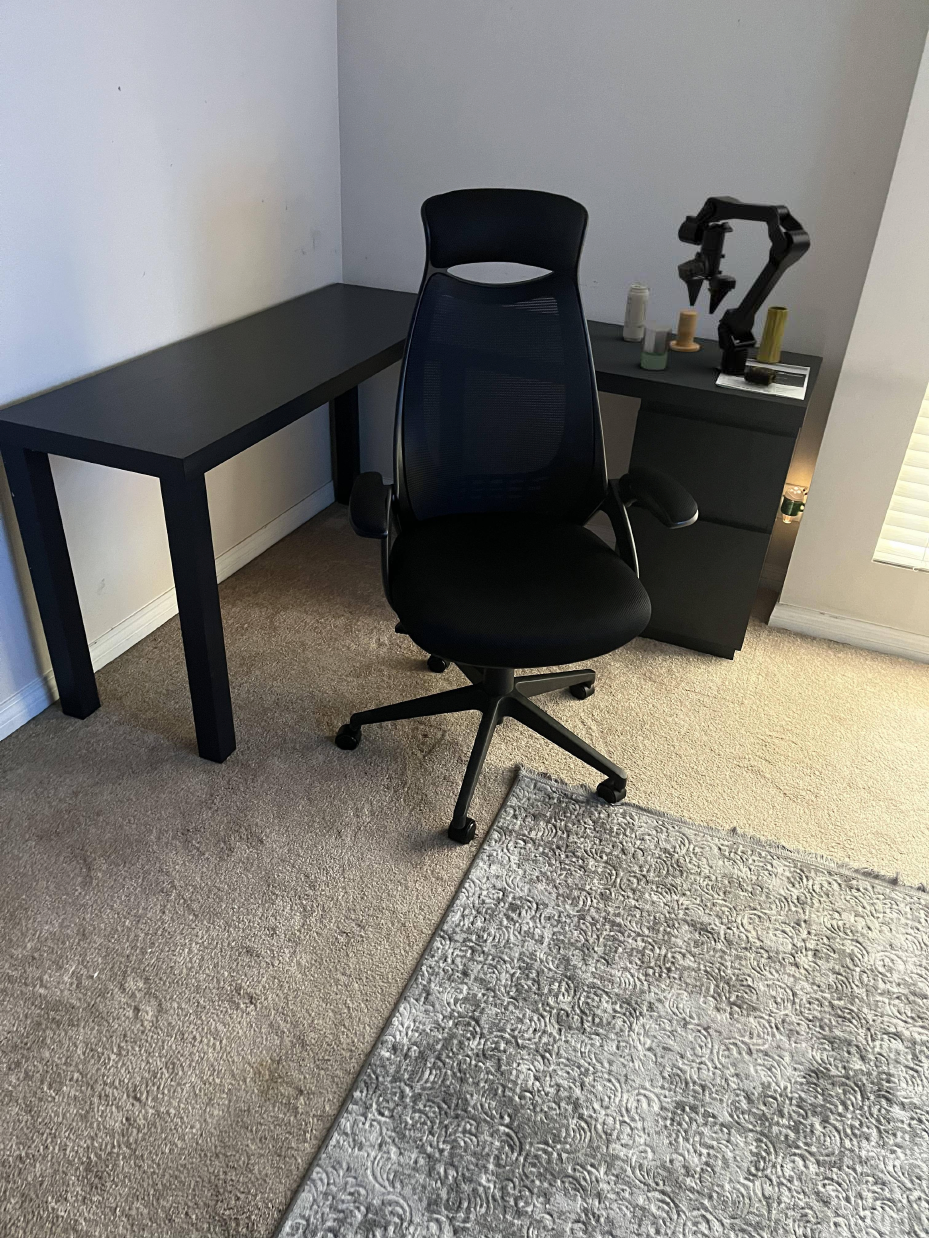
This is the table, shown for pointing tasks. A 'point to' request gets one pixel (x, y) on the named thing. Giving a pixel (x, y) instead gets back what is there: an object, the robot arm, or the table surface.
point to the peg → (685, 332)
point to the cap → (656, 338)
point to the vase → (772, 335)
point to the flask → (653, 361)
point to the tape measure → (760, 376)
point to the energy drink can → (635, 312)
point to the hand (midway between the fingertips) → (701, 310)
